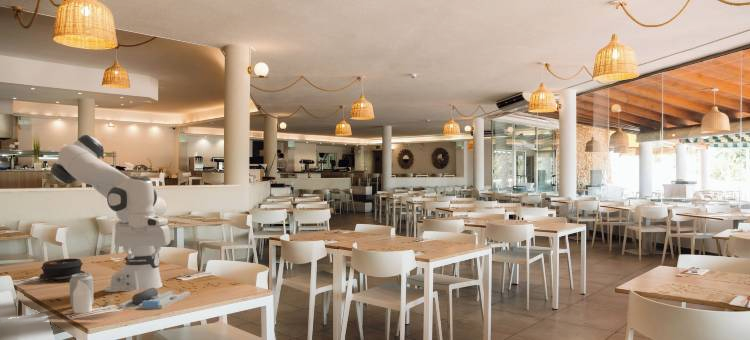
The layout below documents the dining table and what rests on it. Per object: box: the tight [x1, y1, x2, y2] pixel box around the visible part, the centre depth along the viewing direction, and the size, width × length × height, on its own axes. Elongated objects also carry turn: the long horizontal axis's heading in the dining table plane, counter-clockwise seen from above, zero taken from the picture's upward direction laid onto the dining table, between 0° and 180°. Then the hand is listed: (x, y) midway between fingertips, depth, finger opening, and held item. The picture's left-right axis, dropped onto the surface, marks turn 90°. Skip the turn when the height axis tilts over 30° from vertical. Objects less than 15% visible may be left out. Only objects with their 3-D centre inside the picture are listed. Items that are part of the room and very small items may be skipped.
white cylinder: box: [72, 280, 93, 314], centre depth 178 cm, size 6×12×6 cm
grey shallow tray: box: [118, 290, 191, 310], centre depth 190 cm, size 16×20×3 cm
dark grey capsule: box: [131, 288, 159, 305], centre depth 189 cm, size 10×4×4 cm, turn 173°
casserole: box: [38, 258, 86, 282], centre depth 243 cm, size 25×19×8 cm
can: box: [69, 272, 95, 309], centre depth 188 cm, size 8×8×12 cm
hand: (142, 258), depth 188 cm, fingers open, 8 cm apart
